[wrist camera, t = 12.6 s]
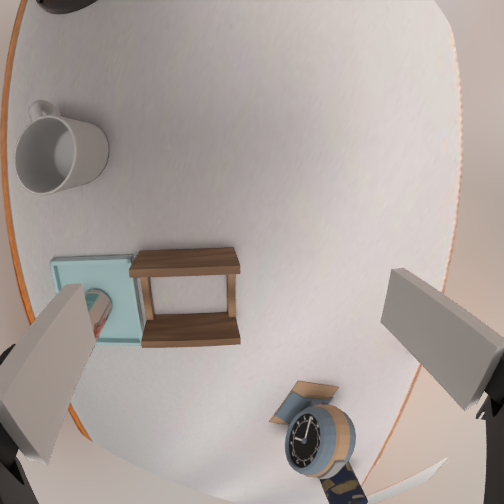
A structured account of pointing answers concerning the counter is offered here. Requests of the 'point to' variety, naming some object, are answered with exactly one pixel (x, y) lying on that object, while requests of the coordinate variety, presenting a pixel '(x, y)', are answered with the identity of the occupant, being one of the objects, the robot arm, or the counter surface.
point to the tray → (113, 285)
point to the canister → (344, 487)
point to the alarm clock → (315, 430)
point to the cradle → (188, 325)
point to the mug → (58, 151)
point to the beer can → (98, 310)
